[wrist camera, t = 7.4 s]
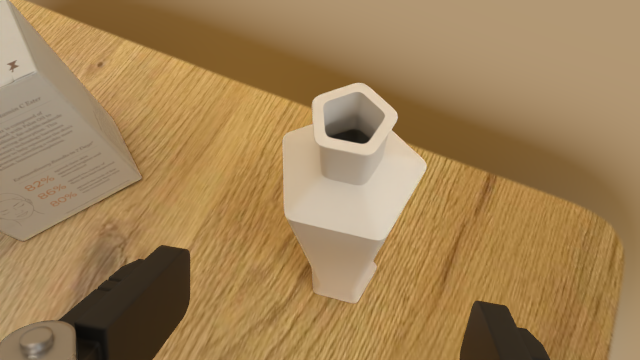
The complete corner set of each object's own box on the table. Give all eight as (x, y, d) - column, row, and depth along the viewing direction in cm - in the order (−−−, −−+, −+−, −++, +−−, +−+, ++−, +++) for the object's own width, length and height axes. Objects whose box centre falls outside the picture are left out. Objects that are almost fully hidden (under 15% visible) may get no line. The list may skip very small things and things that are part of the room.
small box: (116, 121, 29) (9, -8, 19) (145, 180, 26) (40, 68, 17) (0, 176, 27) (-180, 64, 17) (21, 245, 25) (-173, 160, 15)
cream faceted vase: (284, 265, 24) (219, 111, 10) (341, 219, 25) (351, 27, 11) (335, 329, 22) (339, 247, 9) (394, 277, 23) (479, 132, 10)
